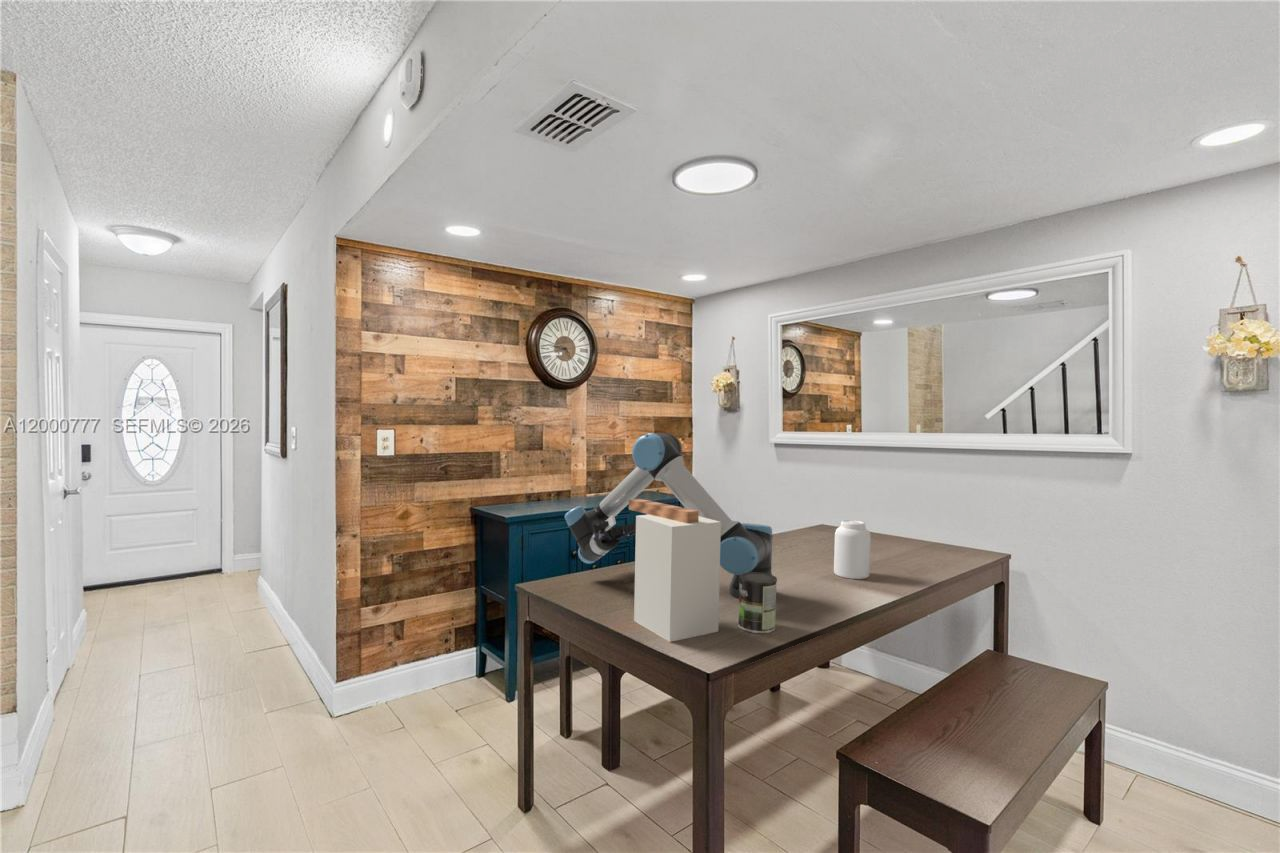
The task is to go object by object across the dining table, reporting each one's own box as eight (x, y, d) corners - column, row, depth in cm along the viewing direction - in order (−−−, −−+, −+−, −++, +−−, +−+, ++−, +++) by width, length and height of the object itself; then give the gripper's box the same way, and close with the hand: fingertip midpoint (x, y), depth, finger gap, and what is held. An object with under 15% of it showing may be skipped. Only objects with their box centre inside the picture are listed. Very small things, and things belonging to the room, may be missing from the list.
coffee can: (743, 634, 167) (744, 582, 167) (734, 620, 178) (735, 572, 177) (780, 633, 168) (782, 582, 168) (769, 620, 178) (770, 571, 178)
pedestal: (634, 620, 176) (636, 515, 175) (680, 612, 184) (682, 511, 183) (669, 642, 160) (672, 526, 159) (718, 631, 169) (720, 521, 168)
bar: (628, 509, 185) (628, 499, 185) (639, 508, 187) (639, 498, 187) (687, 523, 165) (687, 512, 164) (698, 522, 167) (698, 510, 167)
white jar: (874, 580, 223) (876, 525, 223) (839, 579, 223) (841, 524, 223) (862, 571, 236) (864, 518, 235) (829, 570, 236) (831, 518, 235)
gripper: (639, 547, 212) (670, 525, 196) (573, 555, 200) (600, 532, 184) (634, 526, 216) (663, 503, 199) (568, 532, 203) (594, 508, 187)
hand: (633, 517), depth 191 cm, fingers open, 13 cm apart
